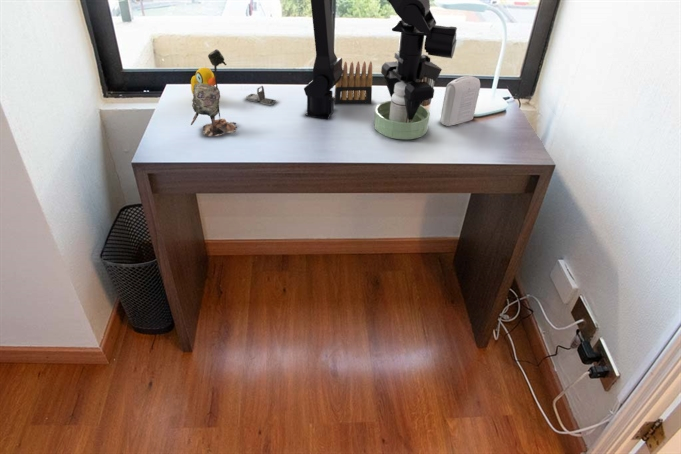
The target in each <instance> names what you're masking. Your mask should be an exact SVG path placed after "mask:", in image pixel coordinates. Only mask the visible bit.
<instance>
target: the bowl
mask: <svg viewBox="0 0 681 454" xmlns="http://www.w3.org/2000/svg"><path fill="white" fill-rule="evenodd" d="M390 106H391V100H385V101H383V102H381V103H379V104H377V105H376V107H375V109H374V120H373V126H374V129H375V130H376V131H377V132H378V133H379V134H381V135H383V136H385V137H387V138H390V139H397V140H413V139H419V138H421V137H423V136H425V135H426V134H427V132H428V128H429V123H430V116H431V113H430V111H429V109H428V108H427V107H426V106H424V105H422V104H421V105H420V106H419V108H418V110H417V112H416V114H415V116H414V117H413V121H412V123H402V122H395V121H392V120H389V115H390Z"/></svg>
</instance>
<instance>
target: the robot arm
mask: <svg viewBox="0 0 681 454" xmlns="http://www.w3.org/2000/svg"><path fill="white" fill-rule="evenodd" d="M386 1H387V2H388V3H389V4H390V6H391V7H392V10H393V11H394V13H396V15H397V16H398V17H399V18H400V20H399V21H398V22H397V23H396V24H394V26H393V27H392V28H391V31H392V32H395V33H396V32H397V33H399V40H398V41H399V42H398V49H397V52H395V53H394V56H393V58H394V59H396V61H385V62H384V63H383V64H382V65H381V70H380V73H381V75H382V78H383V80H384V82H385V85H386V87H387V90H388V93H389V96H390V98H391V97H392V95H393V94H394V87H395V84H396V83H398V82H404V83H405V84H406V85H407V86H406V87H405V95H404V101H405V106H406V112H407V116H408V119H409V120H412V119H413V117H414V116H415V114H416V112H417V110H418V108H419V106H420V105H422V103H423V102H425V101H429V100H430V99H431V100H432V99H433V98H434V95H435V89H434V87H432V85H430V84H429V83H428V82H427V81H422V80H424V79H425V78H426V79H429V80H432V81H433V82H437V81H438V79H439V76H440V74H441V72H442V70H443V69H442V68H441V67H440V66H439V65H437V64H435V63H434V62H432V61H431V57H430V56H433V57H439V58H444V59H445V58H446V59H453V57H454V54H455V49H456V45H457V40H458V39H457V29H458V28H457V26H444V25H443V26H442V25H437V21H436V19H435V17H434V15H433V13H432V11H431V9H430V8H431V3H430V0H386ZM310 9H311V17H312V27H313V38H314V46H315V48H314V49H315V59H314V63H313V67H312V68H313V69H312V80H311V81H310V82H309V83H308V84H307V85H306V86H304V87H303V90H304V91H303V92H304V94H305V96H306V111H305V112H304V116H305V117H312V118H319V119H325V120H328V119H329V118H330V117H331V115H332V114H333V112H334V111H335V103H334V96H333V90H332V89H333V88H335V84H336V83H337V82H338V81H339V80H340V79H341V80H342V75H343V73H344V71H343V57H337V55H336V53H335V50H334V49H335V48H334V38H333V24H332V23H333V22H332V13H331V11H332V10H331V0H310ZM423 49H424V50H425V53H427V54H424V53H423ZM418 80H419V81H418ZM420 80H421V81H420Z"/></svg>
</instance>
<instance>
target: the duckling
mask: <svg viewBox="0 0 681 454" xmlns="http://www.w3.org/2000/svg"><path fill="white" fill-rule="evenodd" d="M198 83H203V84H207V85H212V86H216V83H215V73H214V72H213V71H212V69H210V68H209V67H200V68H198V69H197V70H196V72H195V75H193V76H192V77H191V80H190V90H191V93H192V95H193V87H194V85H195V84H198Z"/></svg>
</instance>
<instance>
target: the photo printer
mask: <svg viewBox="0 0 681 454" xmlns="http://www.w3.org/2000/svg"><path fill="white" fill-rule="evenodd" d="M480 90H481V81H480V79H479V77H476V76H472V75H465V76H461V77H458V78H455V79H453V80H451V81H450V82H448V83H447V85H446V86H445V91H444V96H443V102H442V107H441V113H440V119H439V121H440V123H441V124H442V125H444V126H446V127H450V126H454V125H458V124H462V123H467V122H470V121H472V120H473V119H474V116H475V112H476V107H477V103H478V98H479V93H480Z"/></svg>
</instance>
